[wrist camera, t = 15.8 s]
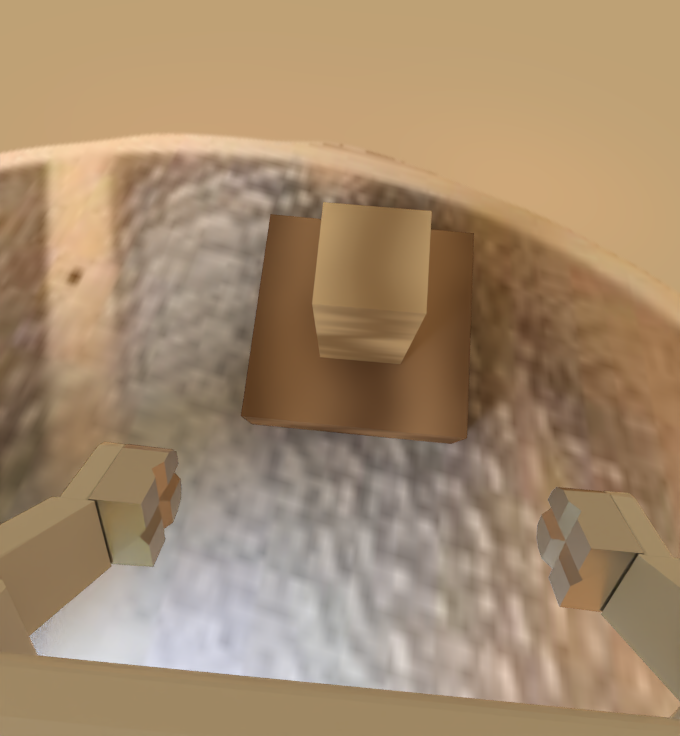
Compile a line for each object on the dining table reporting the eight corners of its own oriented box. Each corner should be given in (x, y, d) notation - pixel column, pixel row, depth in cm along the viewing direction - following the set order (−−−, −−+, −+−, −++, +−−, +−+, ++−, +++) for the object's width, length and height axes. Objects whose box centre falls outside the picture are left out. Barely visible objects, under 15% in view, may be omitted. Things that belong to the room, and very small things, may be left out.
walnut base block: (253, 425, 29) (241, 415, 25) (278, 246, 32) (270, 214, 28) (449, 444, 29) (466, 438, 25) (456, 263, 32) (473, 233, 28)
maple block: (320, 357, 26) (311, 303, 18) (327, 282, 27) (323, 202, 19) (400, 364, 26) (426, 313, 18) (405, 289, 27) (431, 210, 19)
